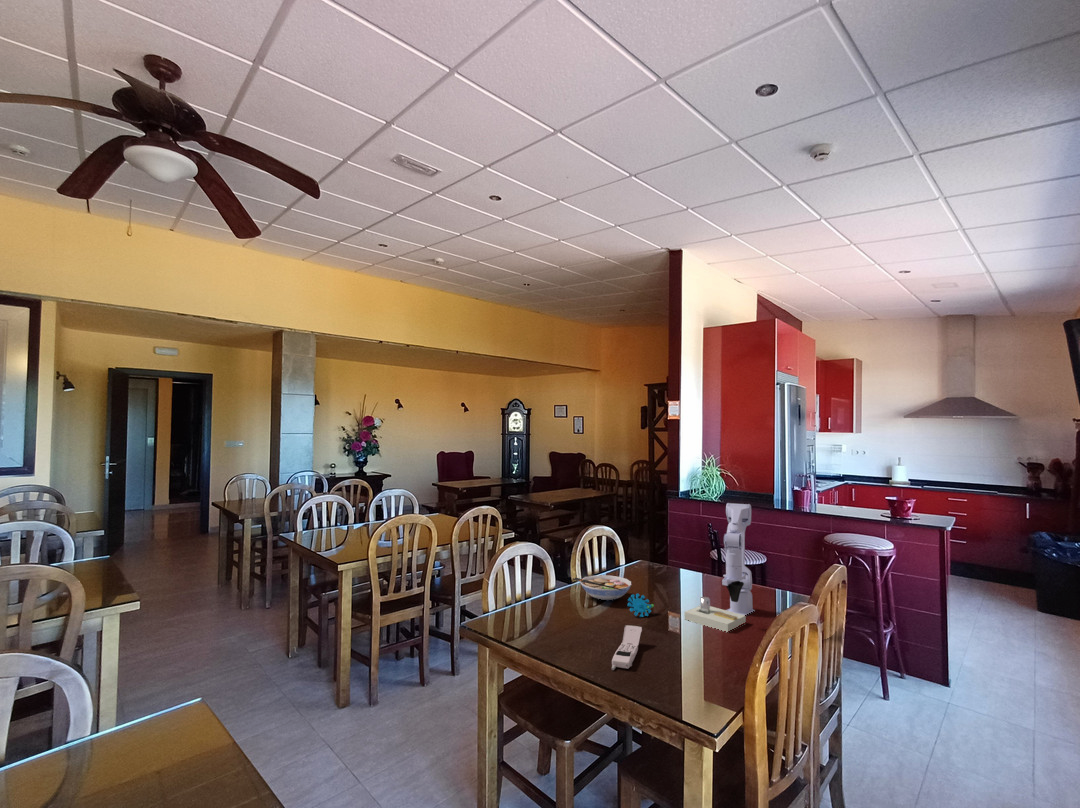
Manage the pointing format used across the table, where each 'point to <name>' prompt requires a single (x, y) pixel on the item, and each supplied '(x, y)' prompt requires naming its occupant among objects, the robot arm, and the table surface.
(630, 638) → the mobile phone
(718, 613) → the latch
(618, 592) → the ramen bowl
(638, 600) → the blue spiky blob
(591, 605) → the table surface
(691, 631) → the table surface
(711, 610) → the cream rectangular slab
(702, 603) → the peg
